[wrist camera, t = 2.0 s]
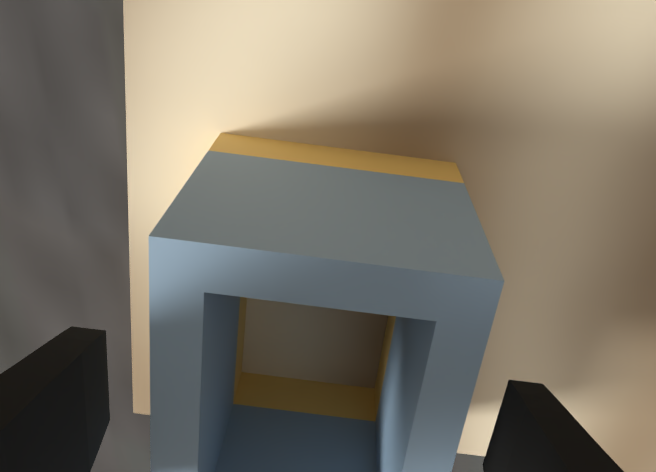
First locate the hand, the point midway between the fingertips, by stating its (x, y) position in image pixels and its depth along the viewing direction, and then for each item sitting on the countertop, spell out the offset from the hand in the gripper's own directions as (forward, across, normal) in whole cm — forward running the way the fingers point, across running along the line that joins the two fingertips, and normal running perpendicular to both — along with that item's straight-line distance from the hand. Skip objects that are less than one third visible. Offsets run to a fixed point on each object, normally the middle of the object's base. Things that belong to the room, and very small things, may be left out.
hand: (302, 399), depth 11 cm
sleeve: (+4, 0, 0) cm, 4 cm away
